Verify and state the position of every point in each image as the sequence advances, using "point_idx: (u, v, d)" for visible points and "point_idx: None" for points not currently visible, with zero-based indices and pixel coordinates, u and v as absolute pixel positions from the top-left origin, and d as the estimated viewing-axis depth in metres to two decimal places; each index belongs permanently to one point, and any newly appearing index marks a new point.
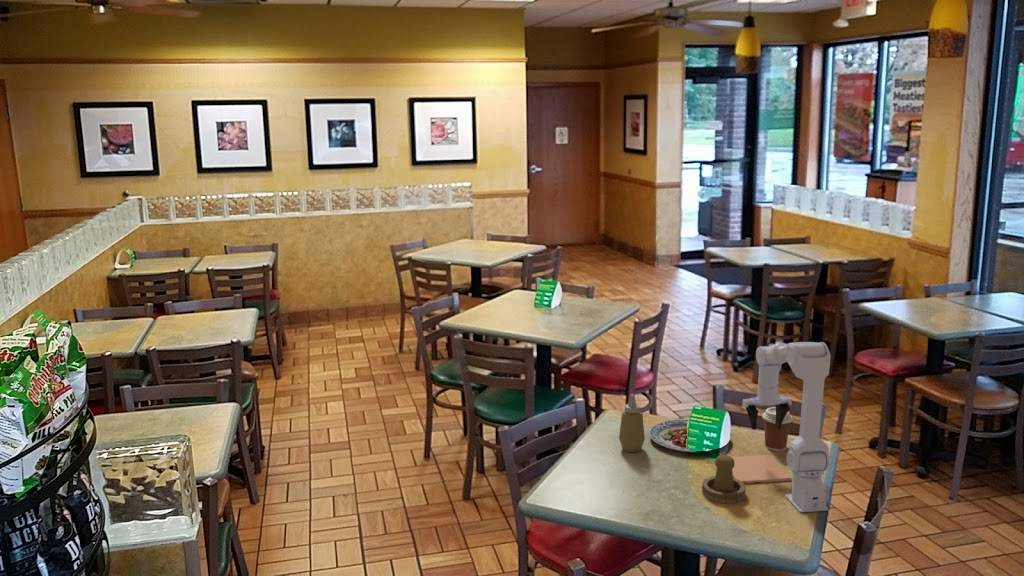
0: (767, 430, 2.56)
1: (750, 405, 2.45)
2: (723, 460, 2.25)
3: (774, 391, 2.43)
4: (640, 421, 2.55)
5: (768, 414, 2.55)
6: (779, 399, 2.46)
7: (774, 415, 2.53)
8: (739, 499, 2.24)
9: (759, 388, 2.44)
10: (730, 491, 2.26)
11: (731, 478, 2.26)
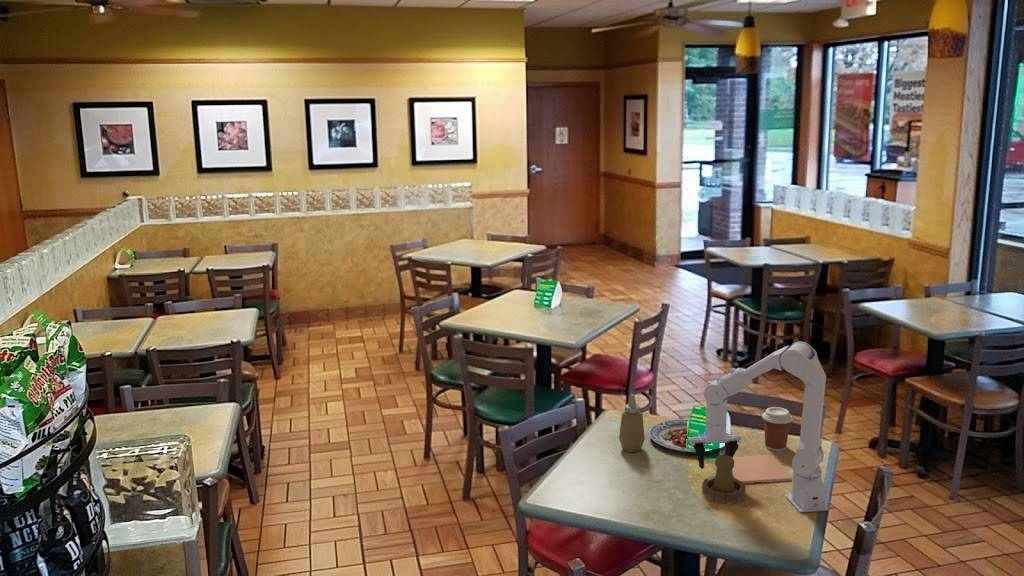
0: (767, 430, 2.56)
1: (698, 442, 2.33)
2: (723, 460, 2.25)
3: (722, 429, 2.31)
4: (640, 421, 2.55)
5: (768, 414, 2.55)
6: (728, 436, 2.34)
7: (774, 415, 2.53)
8: (739, 499, 2.24)
9: (706, 425, 2.32)
10: (730, 491, 2.26)
11: (731, 478, 2.26)
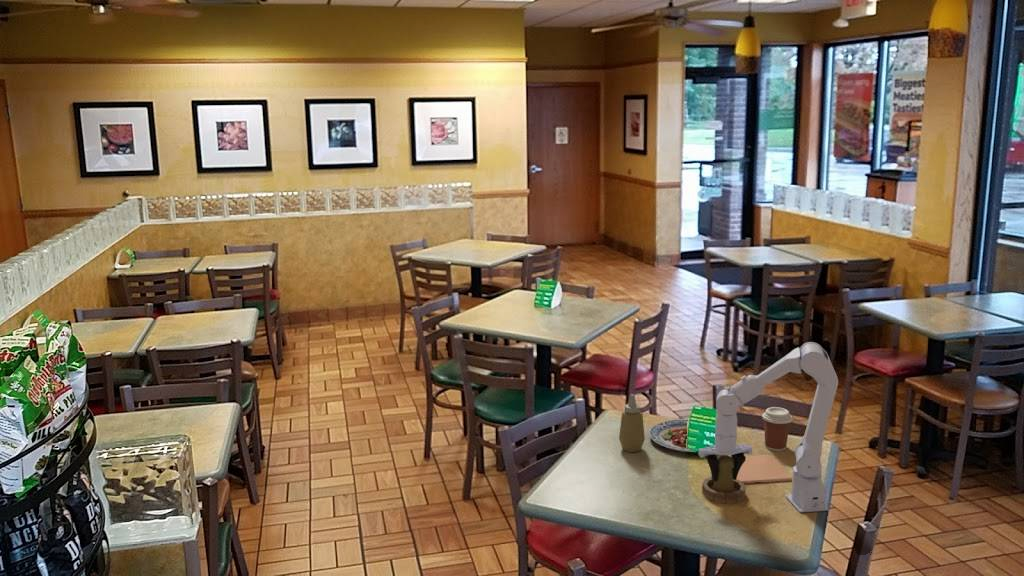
0: (767, 430, 2.56)
1: (707, 454, 2.25)
2: (723, 460, 2.25)
3: (732, 440, 2.23)
4: (640, 421, 2.55)
5: (768, 414, 2.55)
6: (738, 448, 2.26)
7: (774, 415, 2.53)
8: (739, 499, 2.24)
9: (716, 436, 2.25)
10: (730, 491, 2.26)
11: (731, 478, 2.26)
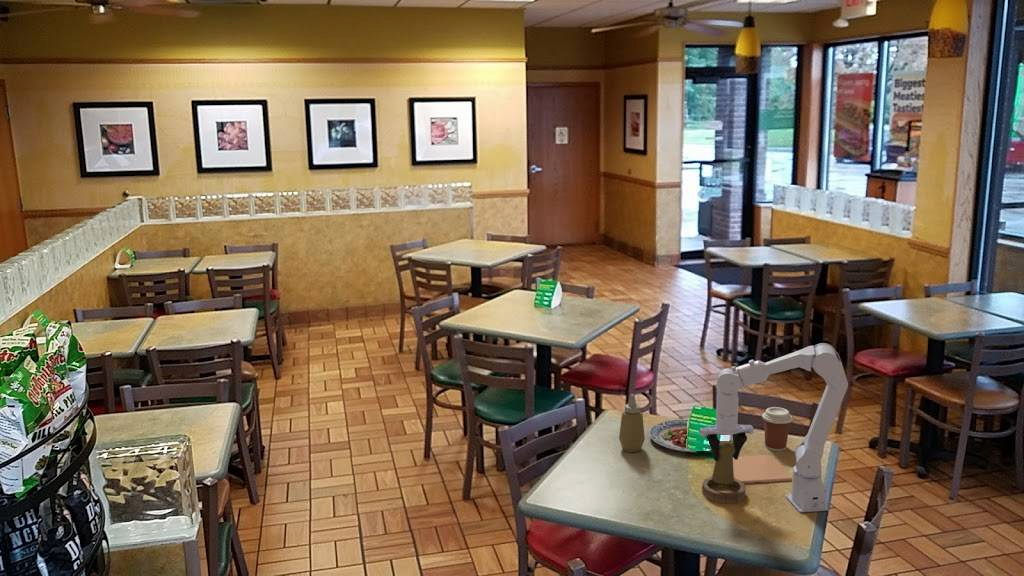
0: (767, 430, 2.56)
1: (708, 434, 2.24)
2: (724, 445, 2.24)
3: (733, 419, 2.21)
4: (640, 421, 2.55)
5: (768, 414, 2.55)
6: (739, 428, 2.25)
7: (774, 415, 2.53)
8: (739, 499, 2.24)
9: (717, 416, 2.23)
10: (730, 477, 2.25)
11: (731, 464, 2.25)
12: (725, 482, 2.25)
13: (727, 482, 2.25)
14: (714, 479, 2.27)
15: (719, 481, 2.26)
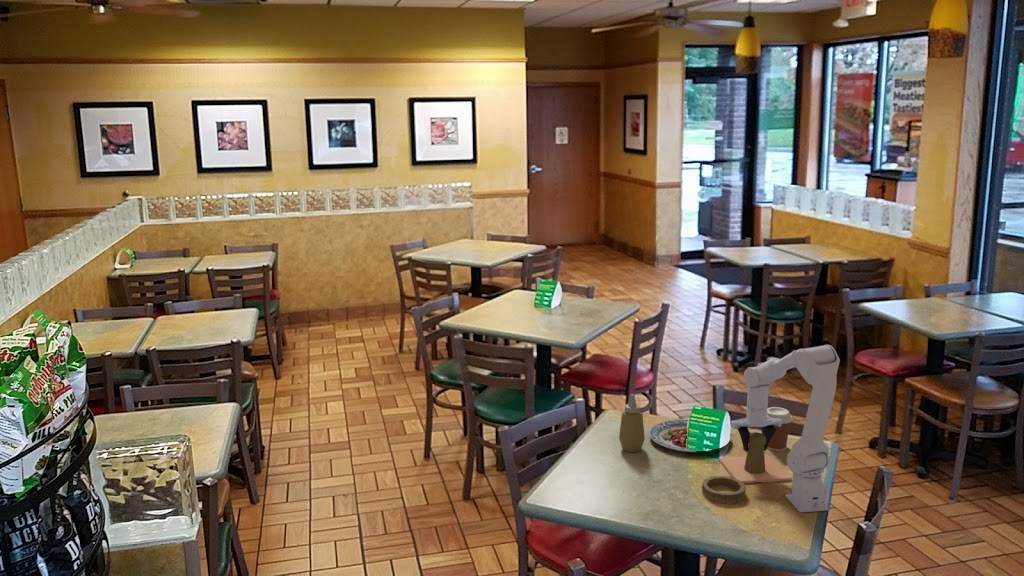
0: None
1: (739, 426, 2.39)
2: (755, 437, 2.38)
3: (763, 412, 2.36)
4: (640, 421, 2.55)
5: (768, 414, 2.55)
6: (768, 420, 2.40)
7: (774, 415, 2.53)
8: (739, 499, 2.24)
9: (748, 409, 2.38)
10: (761, 466, 2.39)
11: (762, 454, 2.39)
12: (756, 471, 2.39)
13: (758, 471, 2.39)
14: (746, 468, 2.41)
15: (750, 470, 2.39)
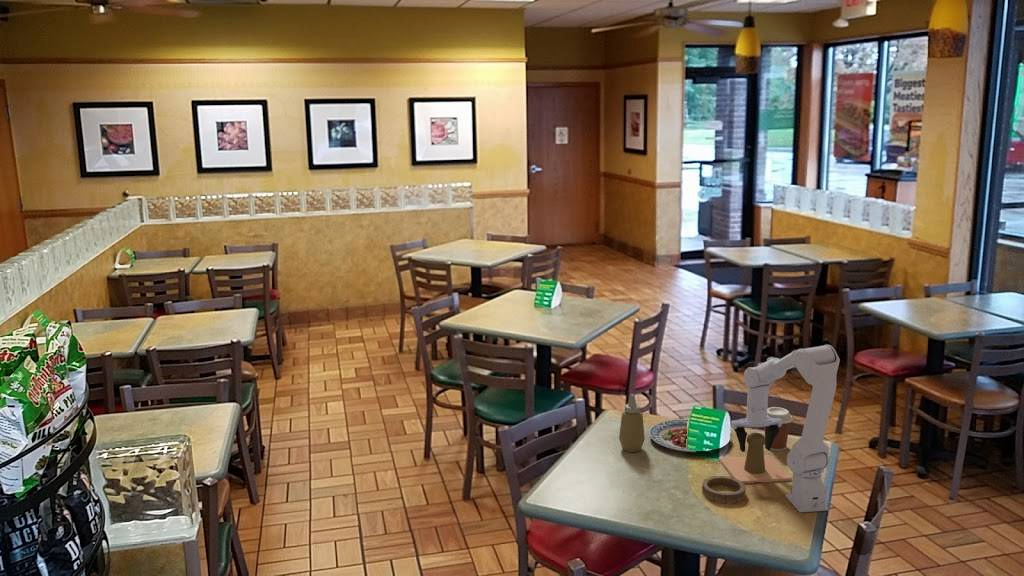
0: None
1: (739, 426, 2.39)
2: (754, 437, 2.38)
3: (763, 413, 2.36)
4: (640, 421, 2.55)
5: (768, 414, 2.55)
6: (769, 420, 2.40)
7: (774, 415, 2.53)
8: (739, 499, 2.24)
9: (748, 409, 2.38)
10: (761, 467, 2.39)
11: (762, 454, 2.39)
12: (756, 472, 2.39)
13: (758, 472, 2.39)
14: (746, 469, 2.41)
15: (750, 471, 2.39)
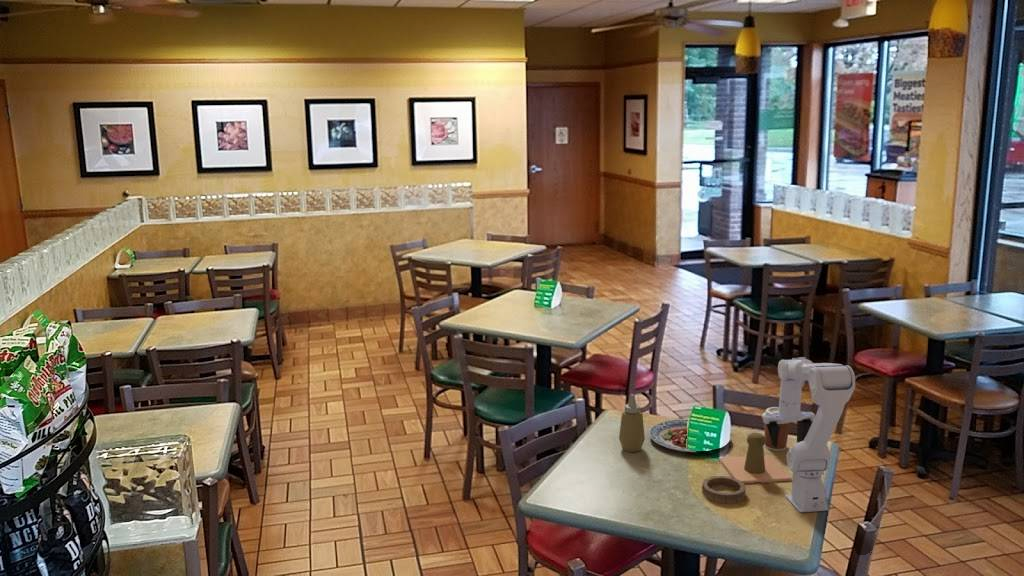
0: (767, 430, 2.56)
1: (771, 421, 2.32)
2: (754, 437, 2.38)
3: (797, 407, 2.29)
4: (640, 421, 2.55)
5: (768, 414, 2.55)
6: (801, 415, 2.33)
7: None
8: (739, 499, 2.24)
9: (781, 404, 2.31)
10: (761, 467, 2.39)
11: (762, 454, 2.39)
12: (756, 472, 2.39)
13: (758, 472, 2.39)
14: (746, 469, 2.41)
15: (750, 471, 2.39)
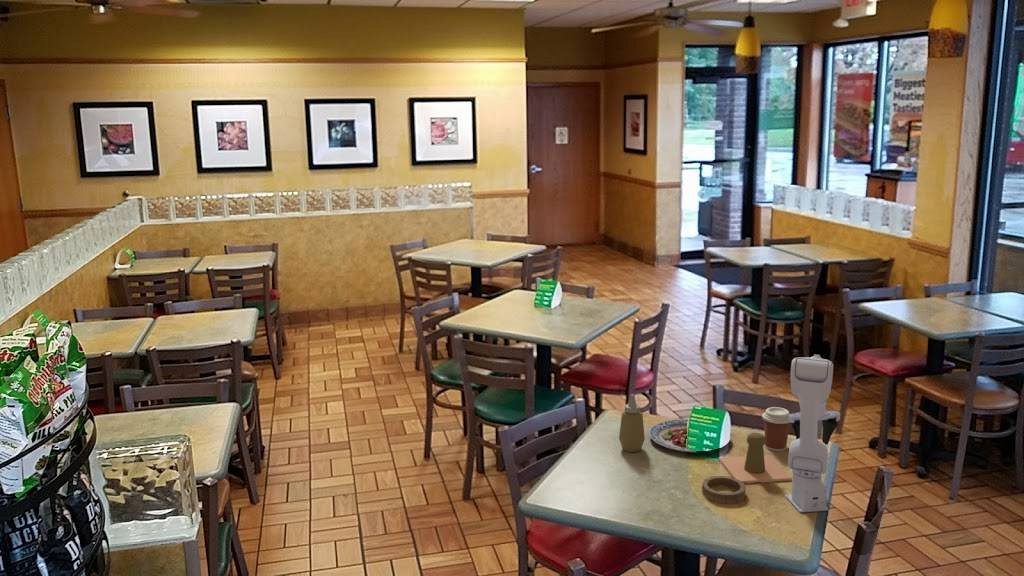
0: (767, 430, 2.56)
1: (797, 420, 2.33)
2: (754, 437, 2.38)
3: (822, 406, 2.30)
4: (640, 421, 2.55)
5: (768, 414, 2.55)
6: (827, 414, 2.33)
7: (774, 415, 2.53)
8: (739, 499, 2.24)
9: None
10: (761, 467, 2.39)
11: (762, 454, 2.39)
12: (756, 472, 2.39)
13: (758, 472, 2.39)
14: (746, 469, 2.41)
15: (750, 471, 2.39)
